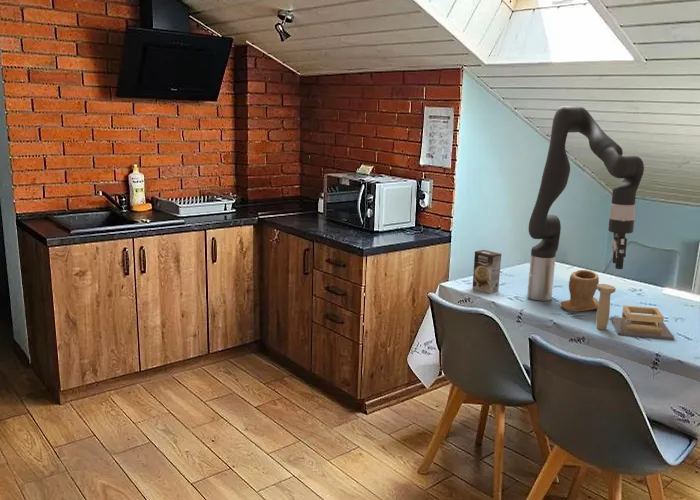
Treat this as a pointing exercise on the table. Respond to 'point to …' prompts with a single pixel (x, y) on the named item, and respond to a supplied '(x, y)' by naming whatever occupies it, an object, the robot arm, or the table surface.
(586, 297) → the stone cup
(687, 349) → the table surface
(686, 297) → the table surface
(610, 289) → the handle
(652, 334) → the collar stand
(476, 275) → the coffee box
